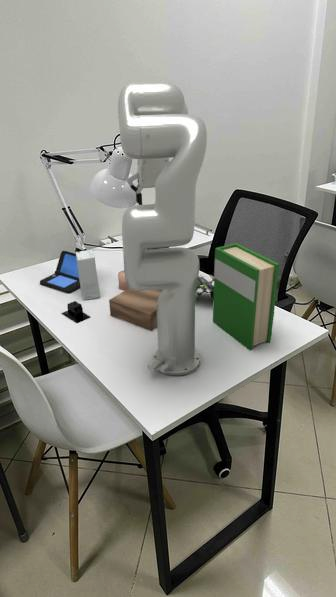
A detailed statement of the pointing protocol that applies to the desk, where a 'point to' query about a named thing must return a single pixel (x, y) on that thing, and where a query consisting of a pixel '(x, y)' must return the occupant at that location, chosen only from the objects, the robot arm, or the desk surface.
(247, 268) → the hardback book
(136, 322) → the walnut block
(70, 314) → the build plate
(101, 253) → the desk surface
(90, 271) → the skincare box
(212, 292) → the passion flower
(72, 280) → the game console
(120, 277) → the beige rounded cylinder
